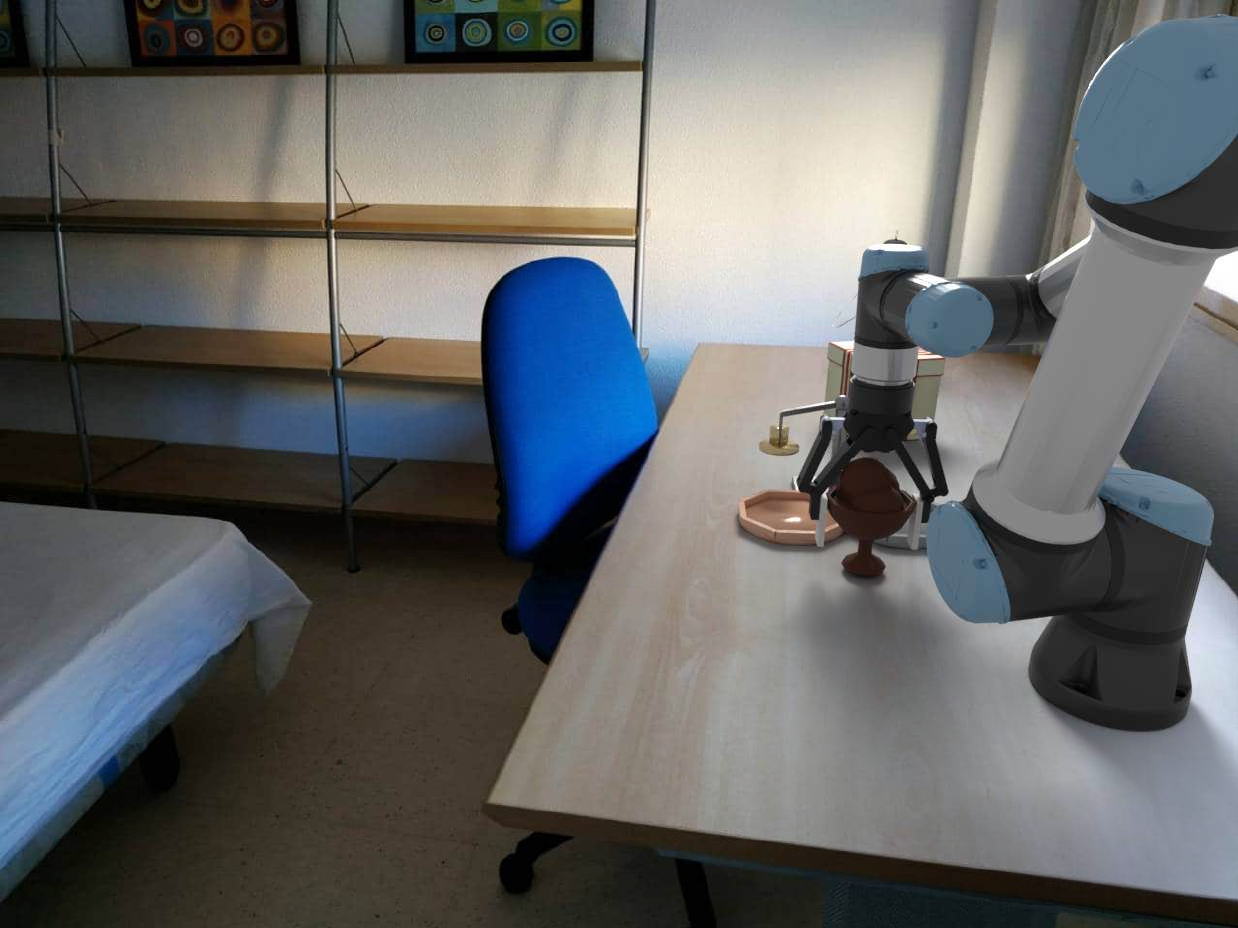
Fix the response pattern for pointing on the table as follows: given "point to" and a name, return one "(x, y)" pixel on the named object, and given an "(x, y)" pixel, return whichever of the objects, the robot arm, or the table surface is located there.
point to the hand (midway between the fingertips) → (865, 543)
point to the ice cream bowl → (868, 510)
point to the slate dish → (901, 536)
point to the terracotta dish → (783, 518)
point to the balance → (785, 447)
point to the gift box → (925, 379)
